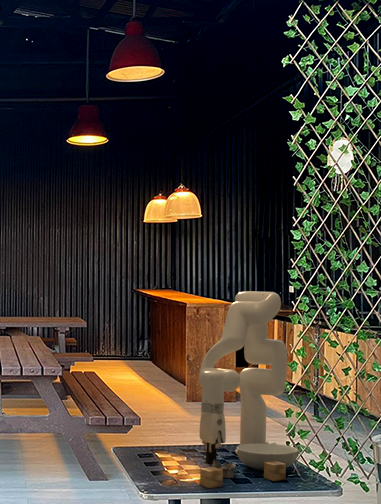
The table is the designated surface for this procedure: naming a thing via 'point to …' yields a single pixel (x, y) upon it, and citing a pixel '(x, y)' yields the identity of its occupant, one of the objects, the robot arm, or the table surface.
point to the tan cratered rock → (225, 469)
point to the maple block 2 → (275, 470)
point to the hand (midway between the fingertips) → (210, 463)
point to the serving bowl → (266, 454)
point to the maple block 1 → (211, 477)
